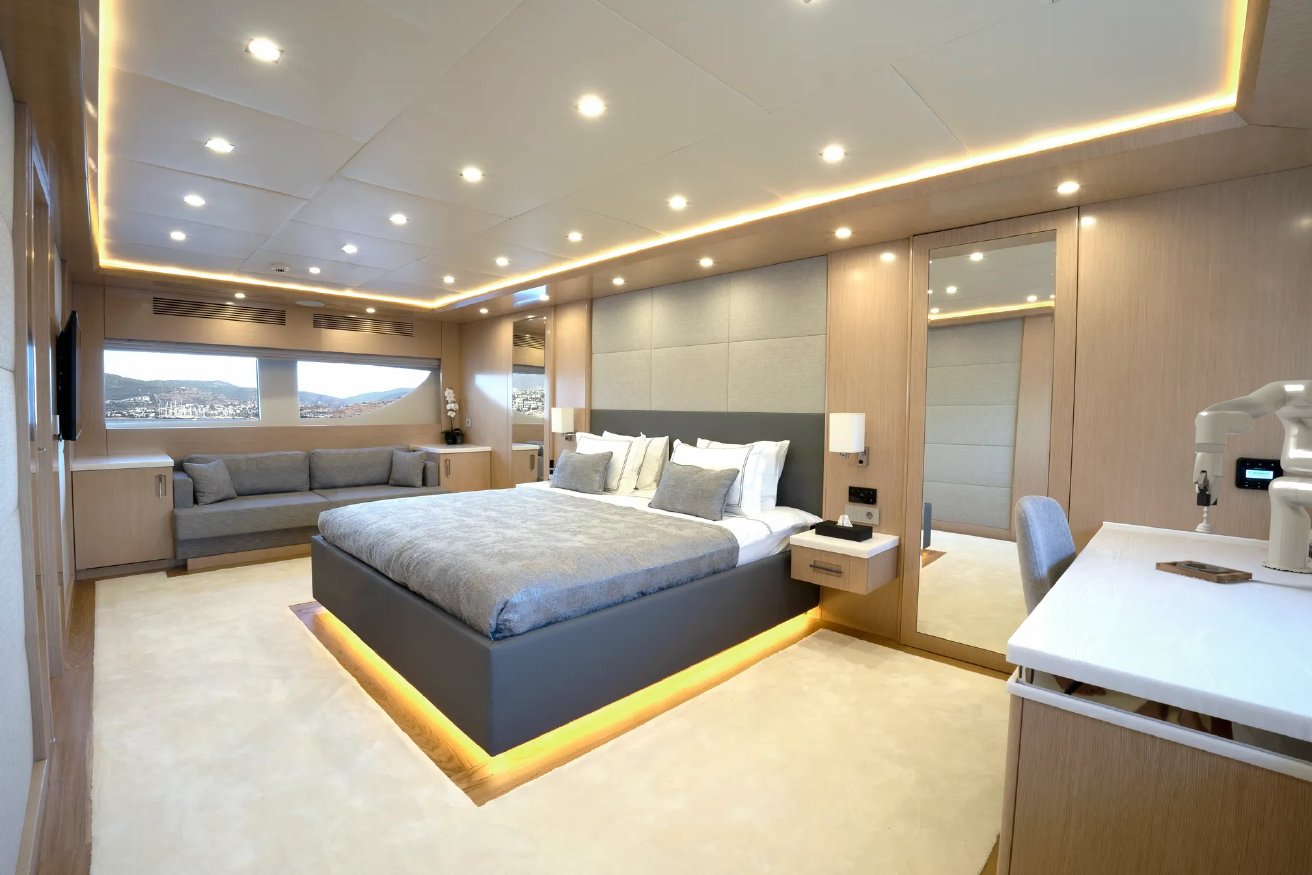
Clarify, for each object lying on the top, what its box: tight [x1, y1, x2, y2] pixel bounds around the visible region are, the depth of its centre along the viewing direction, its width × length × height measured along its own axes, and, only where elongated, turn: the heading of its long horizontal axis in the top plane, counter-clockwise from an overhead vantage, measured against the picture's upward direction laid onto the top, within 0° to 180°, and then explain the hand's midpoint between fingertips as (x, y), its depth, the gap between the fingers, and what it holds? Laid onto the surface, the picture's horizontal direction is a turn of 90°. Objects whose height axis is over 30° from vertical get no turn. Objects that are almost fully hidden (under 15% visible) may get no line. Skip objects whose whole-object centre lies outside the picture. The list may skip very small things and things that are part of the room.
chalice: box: [1194, 475, 1224, 534], centre depth 196 cm, size 7×7×18 cm
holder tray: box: [1155, 560, 1253, 584], centre depth 197 cm, size 17×17×2 cm
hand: (1206, 504), depth 196 cm, fingers closed on chalice, 6 cm apart
